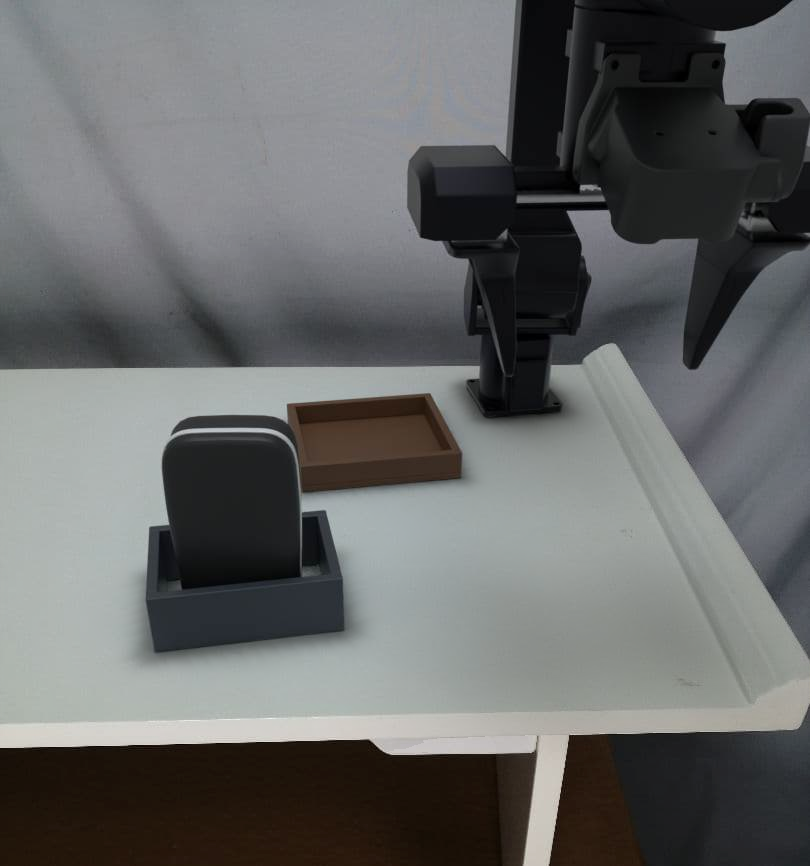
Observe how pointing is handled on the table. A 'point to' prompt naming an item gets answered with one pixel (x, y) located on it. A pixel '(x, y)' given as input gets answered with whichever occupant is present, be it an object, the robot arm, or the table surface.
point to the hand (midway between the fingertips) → (599, 370)
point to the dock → (245, 597)
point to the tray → (372, 442)
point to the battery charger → (233, 499)
